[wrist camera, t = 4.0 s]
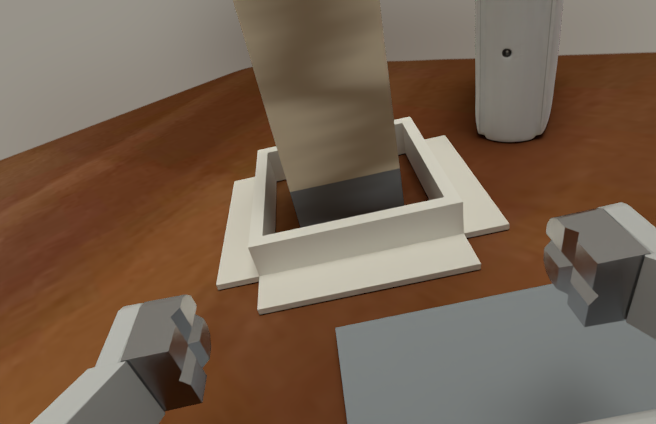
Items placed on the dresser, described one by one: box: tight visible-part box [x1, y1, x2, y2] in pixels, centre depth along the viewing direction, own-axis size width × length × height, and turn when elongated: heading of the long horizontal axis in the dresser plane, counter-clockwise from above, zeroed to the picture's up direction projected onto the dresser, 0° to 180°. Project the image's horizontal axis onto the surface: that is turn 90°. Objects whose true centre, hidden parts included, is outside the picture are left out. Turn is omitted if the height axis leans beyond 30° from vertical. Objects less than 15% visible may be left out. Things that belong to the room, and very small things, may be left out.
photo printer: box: [475, 0, 563, 142], centre depth 25 cm, size 10×4×12 cm, turn 157°
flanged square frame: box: [216, 117, 509, 315], centre depth 23 cm, size 13×13×2 cm
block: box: [233, 0, 404, 228], centre depth 20 cm, size 5×5×12 cm
